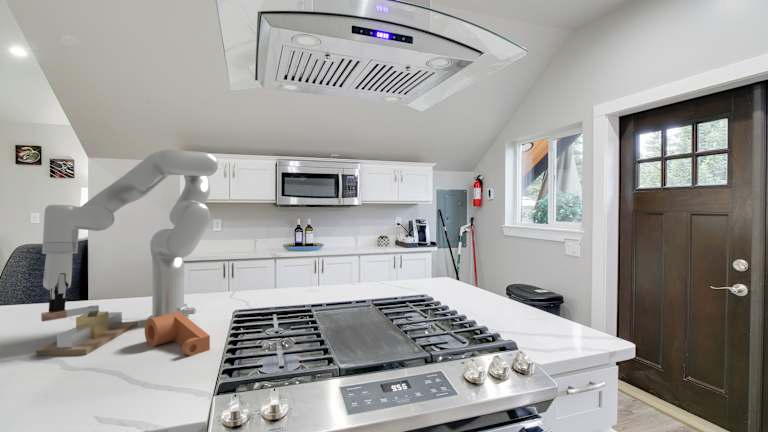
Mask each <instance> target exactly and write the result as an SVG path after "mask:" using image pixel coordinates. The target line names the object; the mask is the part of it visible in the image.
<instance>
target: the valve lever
mask: <svg viewBox="0 0 768 432" xmlns="http://www.w3.org/2000/svg"><path fill="white" fill-rule="evenodd" d="M96 312H100V306H99V305H96V304H95V305H89V306H85V307H77V308H70V309H66V308H65V309H64V310H58V311H51V312H49V311H46V312H41V314H40V318H41V322H43V323H45V322H49V321H54V320H55V321H56V320H61V319H66V318H70V317H77V316H81V315H84V314H88V313H96Z"/></svg>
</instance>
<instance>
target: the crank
mask: <svg viewBox="0 0 768 432" xmlns="http://www.w3.org/2000/svg"><path fill="white" fill-rule="evenodd" d="M210 336H211V335H209V334H208V333H207V332H206V331H205V330H203V329H202V328H201V327H199V326H198V325H197V324H196V323H195V322H193V321H192V320H191V319H190V318H189V317H188V318H187V317H186V316H184V315H183V314H182V313H180V312H177V313H172V314H168V315H163V316H158V317H154V318H149V319H148V320H147V319H146V321H145V324H144V337H145V340H146V342H147V344H148V345H149V346H151V347H157V346H160V345H165V344H168V343H171V342H174V343H177V344H180V345H182V346H181V351H182V353H183V354H185V355H187V356H195V355H198V354H201V353H204V352H208V351H210V348H211V347H210V346H211V345H210V344H211V339H210V338H211V337H210Z"/></svg>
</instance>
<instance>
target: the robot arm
mask: <svg viewBox="0 0 768 432" xmlns="http://www.w3.org/2000/svg"><path fill="white" fill-rule="evenodd" d="M218 168H219V165H218V161H217V159H216V157H215V156H214V155H212V154H211V153H208V152H206V151H205V152H204V151H195V150H194V151H193V150H180V149H170V148H169V149H163V150H157V151H154V152H153V153H150V155H148V156H147V157H145V158H144V159H143V160H142V161H140V162H139V163H138V164H136V165H135V166H134V167H132V169H130V170H129V171H127V172H126V173H125V174H124V175H122V176H121V177H120V178H118V179H116V180H115V181H114V182H113V183H112V184H110V185H108V186H107V187H105V188H103V190H101V191H100V192H97V194H95V195H94V196H92V197H91V198H90V199H89V200H87V201H86V202H85V203H84V204H83V205H81V206H76V205H69V204H68V205H67V204H49V205H47V206H46V207H45V209H44V217H43V220H44V221H43V234H42V249H41V250H42V251H41V253H42V254H43V255H46V256H45V261H44V269H43V270H44V271H43V280H42V286H43V287H44V289H46V290H48V291H49V293H50V296H49V302H48V312H51V311H58V310H64V309H66V291H67V289H70V288H71V285H72V279H73V278H72V276H73V254H78V253H79V252H78V248H79V233H80V230H86V231H87V230H88V231H92V232H93V231H94V232H99V231H102V232H103V231H106V230H107V229H109V228H110V227H112V226H113V224H114V223H115V213H116V212H117V211H119V210H120V209H121V208H123V207H125V206H127V205H128V204H130V203H133V202H136V201H138V200H141V199H142V198H143V197H146V196H147V195H148V194H149V193H150V192H151V191H153V189H155V187H157V186H158V185H159V184H160V183H162V182H163V181H164V180H166V178H168V177H169V176H174V175H175V176H176V175H177V176H183V178H184V182H185V184H184V187H183V189H182V192H181V194H180V196H179V197H178V199H177V200H176V202H175V204H174V205H173V207H172V208H171V210H170V212H169V221H170V223H171V224H172V225H173V228H163V229H160V230H158V231H157V232H155V233H154V234H153V235H152V237H151V239H150V242H149V249H150V255H151V264H152V278H151V279H152V284H151V286H152V289H151V290H152V293H151V294H152V295H151V296H152V297H151V298H152V299H151V300H152V307H151V309H152V310H151V311H152V313H151V314H152V315H150V316H148V317H147V318H146V321H147V320H148V319H149V318H154V317H158V316H163V315H168V314H172V313H177V312H180V313H182V314H183V315H184V316H186V317H187V318H188V319H189V317H190V315H195V314H196V313H197V309H196V308H195V307H188V304H187V303H185V262H184V261H185V260H184V258H186V257H188V256H190V255H191V254H192V253H193V252H194V251H195V250H196V248H197V246H198V245H199V243H200V241H201V239H202V238H203V236H204V233H205V232H206V230H207V228H208V226H209V224H210V220H211V212H210V209H209V208H208V206H207V205H206V203H207V201H208V199H209V196H210V193H211V185H210V180H209V178H208V177H210V176H213V175H214V174H215V173H216V172H217V171H218Z"/></svg>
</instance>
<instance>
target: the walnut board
mask: <svg viewBox="0 0 768 432" xmlns="http://www.w3.org/2000/svg"><path fill="white" fill-rule="evenodd" d="M137 326H138V321H124V322H123V321H122V323H121V324H119V325H117V326H115V327H113V328H111V329H109V330H108V332H106V333H104V334H102V335H100V336H98V337H96V338H91V339H89V340H87V341H85V342H83V343H81V344H79V345H77V346H75V347H73V348H65V349H57V341H55V342H53V343H50V344H48V345H45V346H44V347H42V348H38V349H37V350H36V351H35V357H58V356H59V357H60V356H61V357H64V356H87V355H89V354H91V353H92V352H94V351H96V350H97V349H99V348H101V347H103V346H104V345H106V344H108V343H109V342H111V341H113V340H114V339H116V338H118V337H119V336H122V335H123V334H125V333H127V332H128V331H130V330H132V329H134V328H135V327H137Z"/></svg>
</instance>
